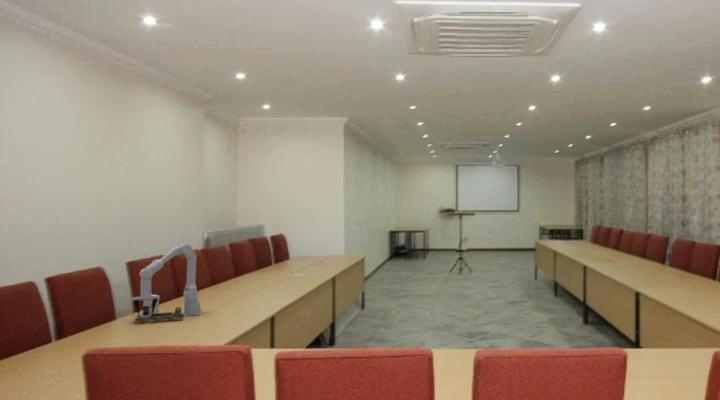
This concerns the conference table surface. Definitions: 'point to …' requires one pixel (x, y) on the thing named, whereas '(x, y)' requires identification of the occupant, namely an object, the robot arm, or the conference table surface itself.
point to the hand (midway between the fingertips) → (145, 312)
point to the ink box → (149, 303)
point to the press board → (161, 317)
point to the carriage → (146, 312)
